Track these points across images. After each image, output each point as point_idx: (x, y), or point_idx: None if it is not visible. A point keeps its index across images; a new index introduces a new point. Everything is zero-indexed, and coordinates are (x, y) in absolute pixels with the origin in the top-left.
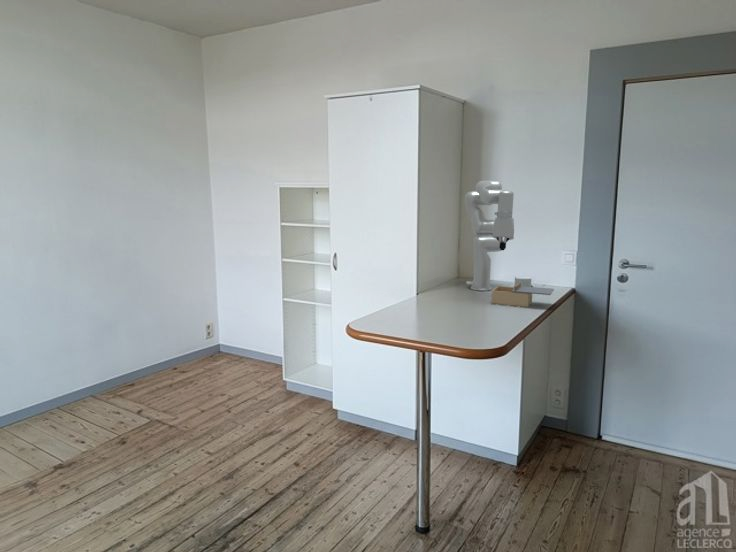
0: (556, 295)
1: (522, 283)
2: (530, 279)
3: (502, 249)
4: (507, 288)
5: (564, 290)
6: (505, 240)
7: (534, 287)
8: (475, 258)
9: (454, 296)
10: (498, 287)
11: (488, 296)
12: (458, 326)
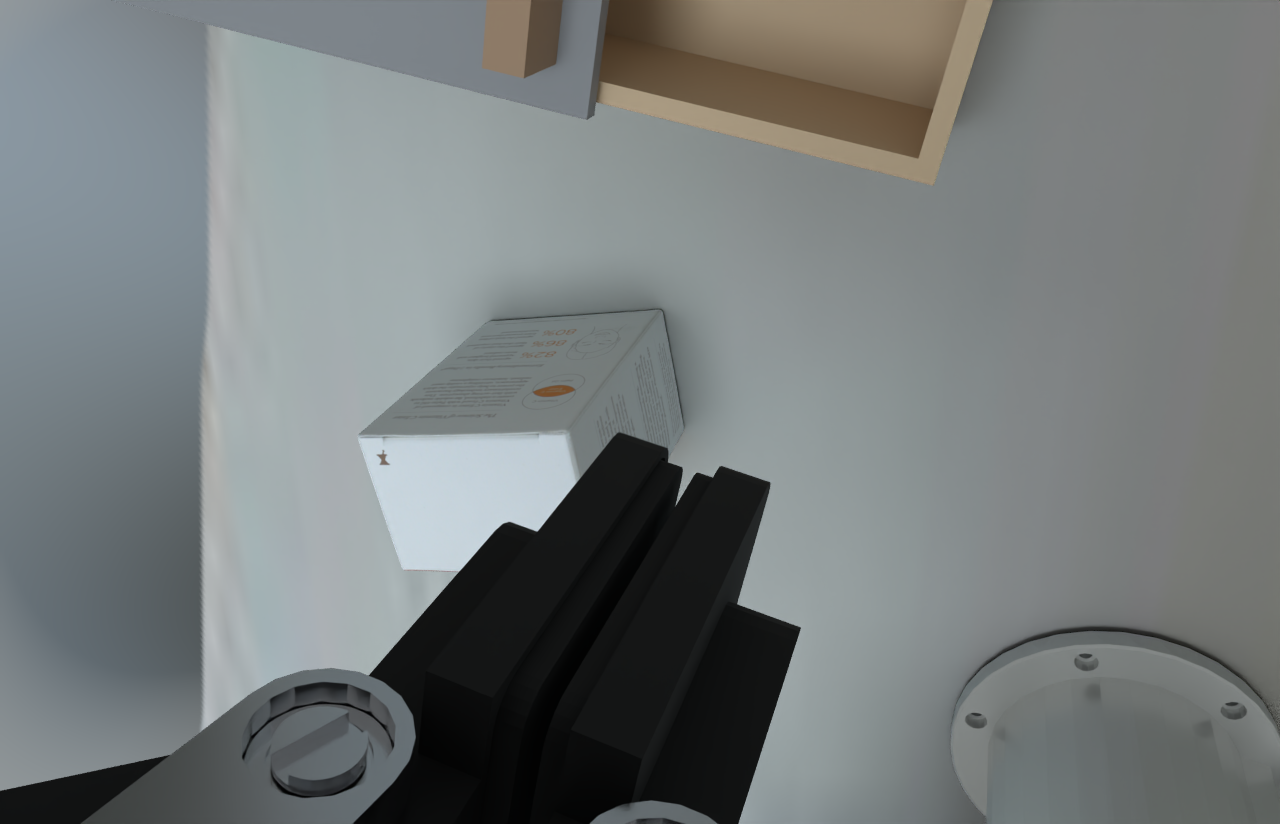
0: (252, 458)
1: (512, 395)
2: (375, 428)
3: (653, 453)
4: (756, 113)
5: (226, 677)
6: (197, 798)
7: (302, 20)
8: None
9: None
10: (921, 147)
11: (1072, 286)
12: None
